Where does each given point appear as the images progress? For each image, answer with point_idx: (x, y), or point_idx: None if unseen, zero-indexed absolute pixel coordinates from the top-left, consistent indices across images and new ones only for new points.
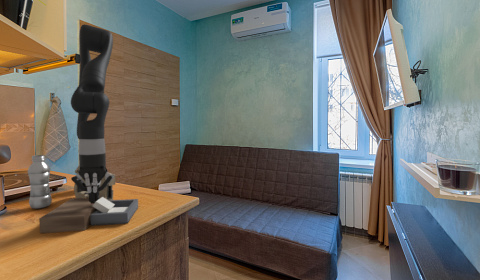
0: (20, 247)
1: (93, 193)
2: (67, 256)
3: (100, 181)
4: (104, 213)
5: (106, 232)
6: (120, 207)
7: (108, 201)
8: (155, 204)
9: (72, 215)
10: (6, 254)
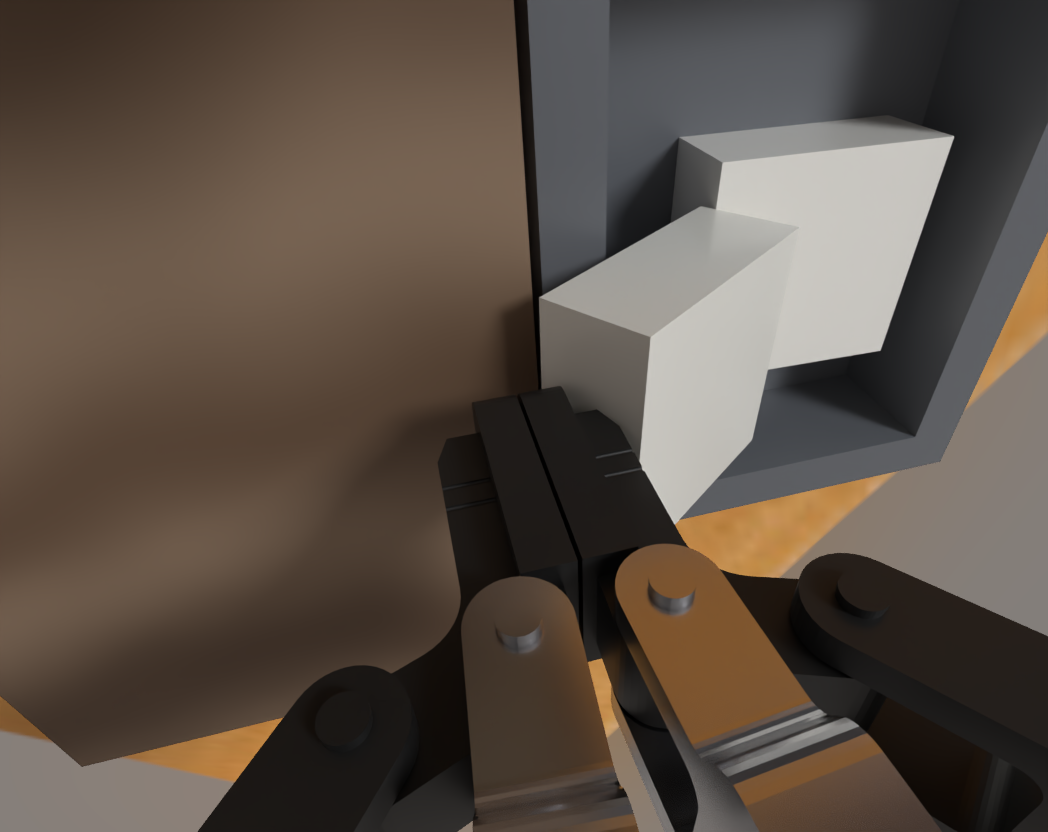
0: (223, 732)
1: (600, 651)
2: None
3: (910, 828)
4: (701, 496)
5: (709, 532)
6: (841, 165)
7: (734, 307)
8: None
9: None
10: (224, 774)
